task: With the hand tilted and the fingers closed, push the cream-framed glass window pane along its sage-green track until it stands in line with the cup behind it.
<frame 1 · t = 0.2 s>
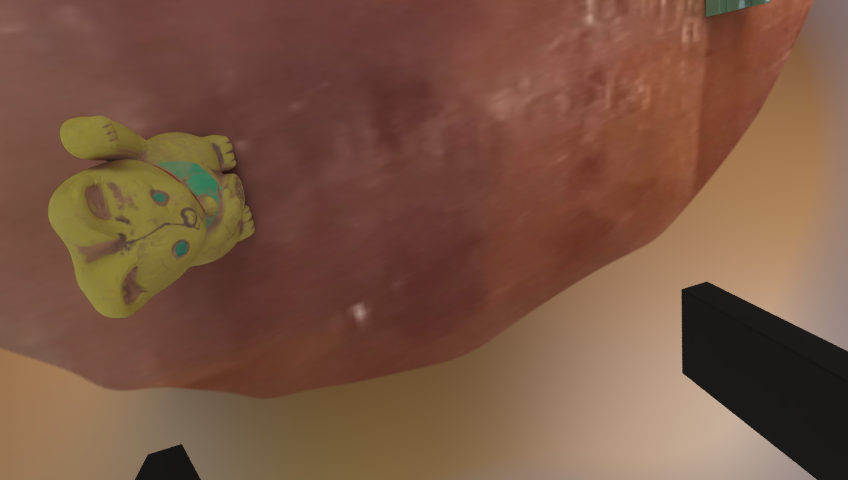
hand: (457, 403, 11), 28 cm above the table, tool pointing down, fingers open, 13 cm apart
figurine: (188, 183, 35), on the table
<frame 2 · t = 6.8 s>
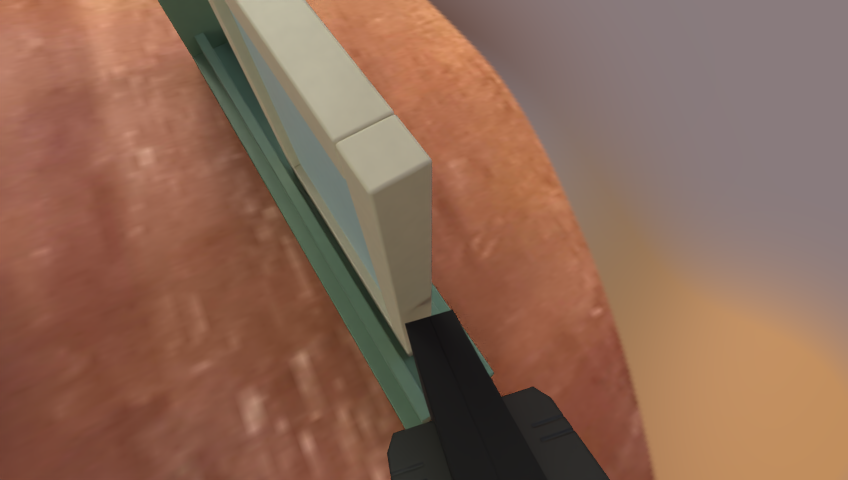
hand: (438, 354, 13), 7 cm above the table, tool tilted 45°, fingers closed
window frame: (316, 191, 25), on the table
window pane: (323, 163, 15), point 9 cm above the table, slide at 0.5 cm, touching gripper
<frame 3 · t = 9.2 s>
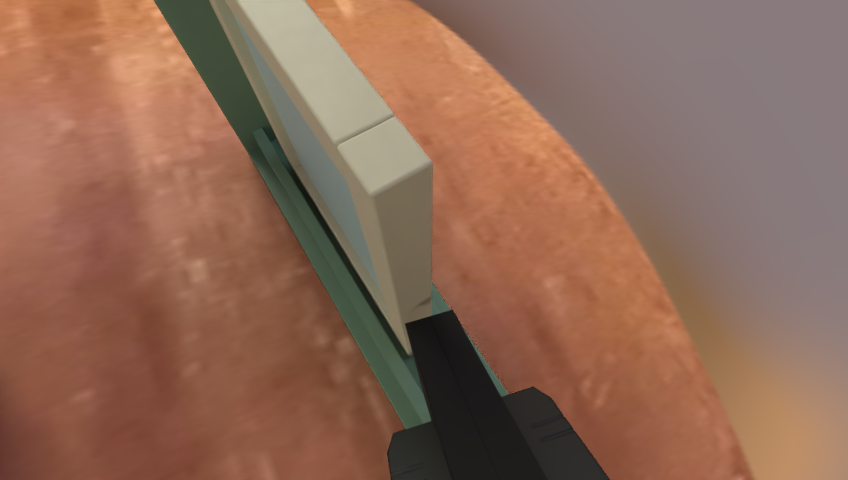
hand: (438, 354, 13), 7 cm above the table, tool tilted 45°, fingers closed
window frame: (395, 317, 22), on the table
window pane: (323, 164, 15), point 9 cm above the table, slide at 9.2 cm, touching gripper
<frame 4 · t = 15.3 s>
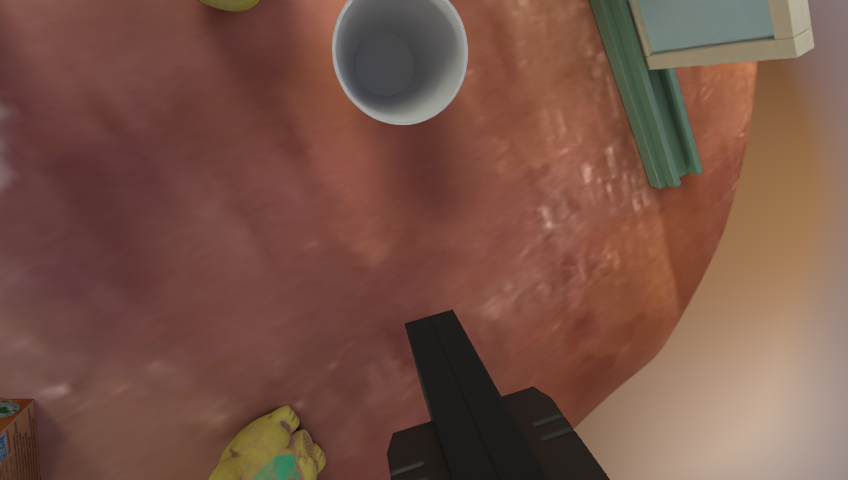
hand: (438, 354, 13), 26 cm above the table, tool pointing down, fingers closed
cup: (383, 65, 35), on the table
figurine: (268, 440, 44), on the table
window frame: (628, 43, 39), on the table
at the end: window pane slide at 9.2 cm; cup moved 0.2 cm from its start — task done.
